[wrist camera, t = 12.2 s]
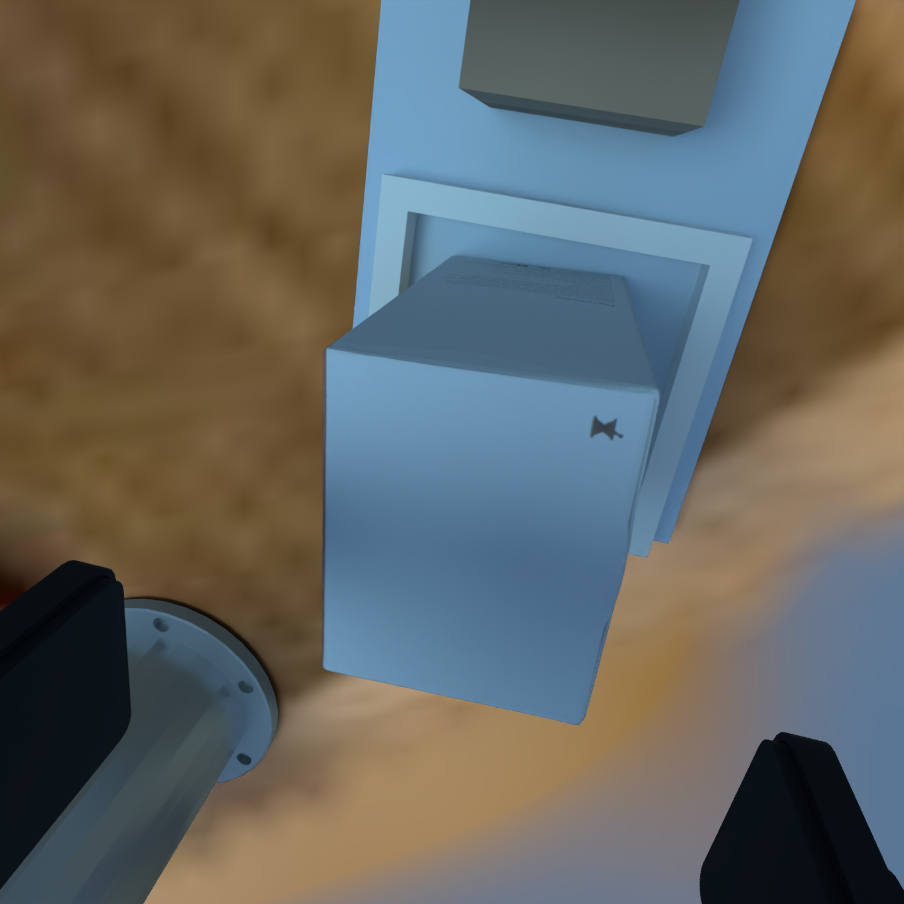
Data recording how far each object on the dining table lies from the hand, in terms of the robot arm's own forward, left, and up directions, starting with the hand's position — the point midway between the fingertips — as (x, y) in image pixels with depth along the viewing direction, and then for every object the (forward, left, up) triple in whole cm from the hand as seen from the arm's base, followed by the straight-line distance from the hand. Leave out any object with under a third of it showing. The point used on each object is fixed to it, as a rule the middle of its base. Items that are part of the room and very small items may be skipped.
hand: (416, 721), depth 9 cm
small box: (0, 0, -17) cm, 17 cm away
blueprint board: (+5, 0, -19) cm, 19 cm away
